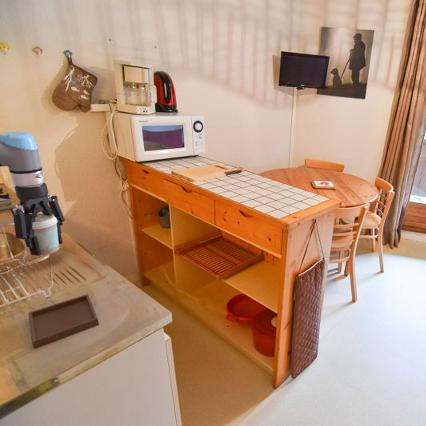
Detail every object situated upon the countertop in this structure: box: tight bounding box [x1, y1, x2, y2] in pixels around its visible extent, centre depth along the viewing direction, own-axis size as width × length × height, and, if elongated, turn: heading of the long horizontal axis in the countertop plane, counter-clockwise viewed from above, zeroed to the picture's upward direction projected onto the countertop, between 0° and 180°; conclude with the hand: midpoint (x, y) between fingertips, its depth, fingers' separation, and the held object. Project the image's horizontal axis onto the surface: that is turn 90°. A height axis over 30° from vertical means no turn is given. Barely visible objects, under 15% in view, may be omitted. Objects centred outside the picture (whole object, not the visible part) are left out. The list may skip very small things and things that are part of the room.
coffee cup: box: [32, 213, 60, 256], centre depth 104 cm, size 9×8×12 cm
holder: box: [27, 293, 100, 349], centre depth 85 cm, size 13×13×2 cm
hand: (47, 248), depth 106 cm, fingers closed on coffee cup, 8 cm apart
